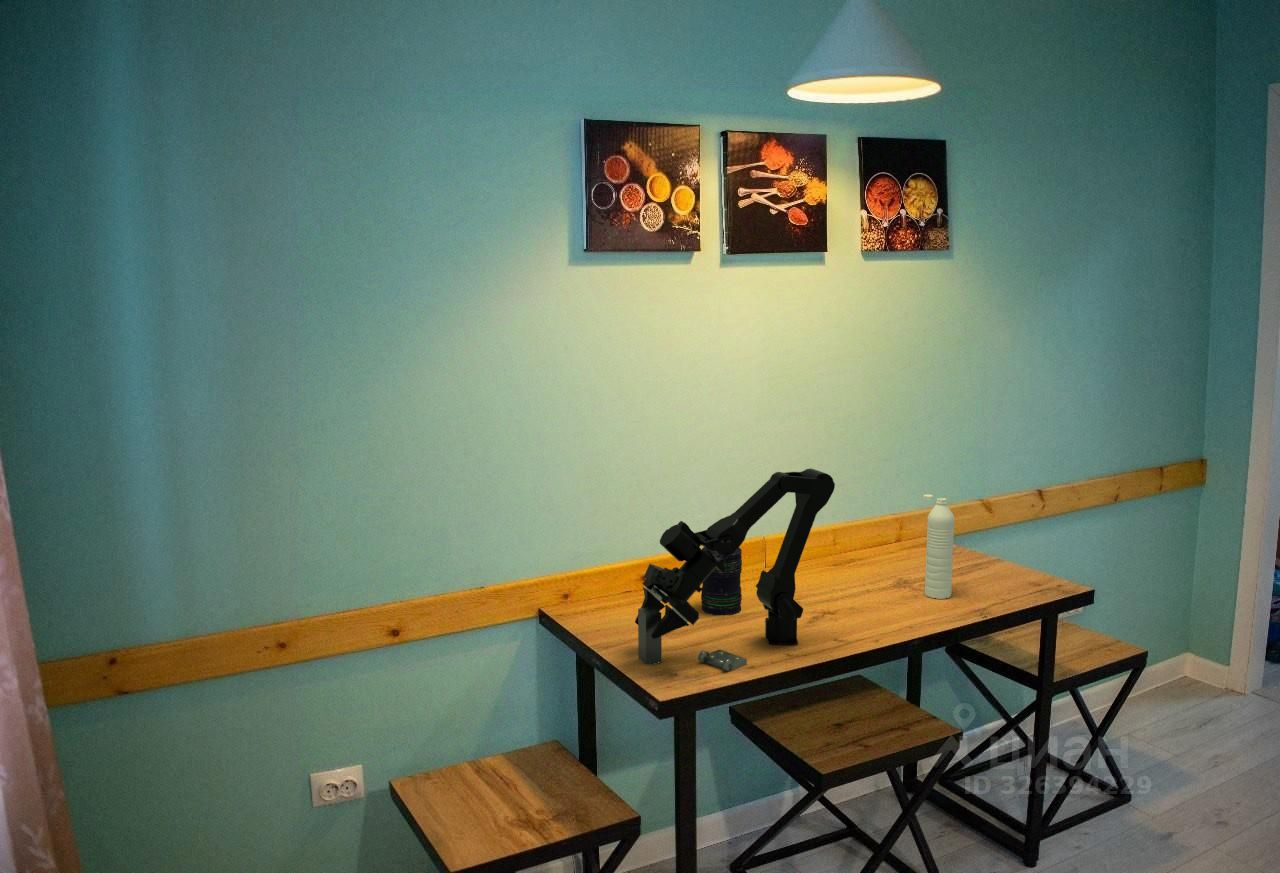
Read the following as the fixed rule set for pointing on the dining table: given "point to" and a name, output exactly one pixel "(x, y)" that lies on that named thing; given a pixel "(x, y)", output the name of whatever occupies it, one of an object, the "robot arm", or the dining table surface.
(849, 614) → the dining table surface
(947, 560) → the water bottle
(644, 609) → the dark grey block
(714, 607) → the storage jar
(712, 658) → the fixed hinge leaf
